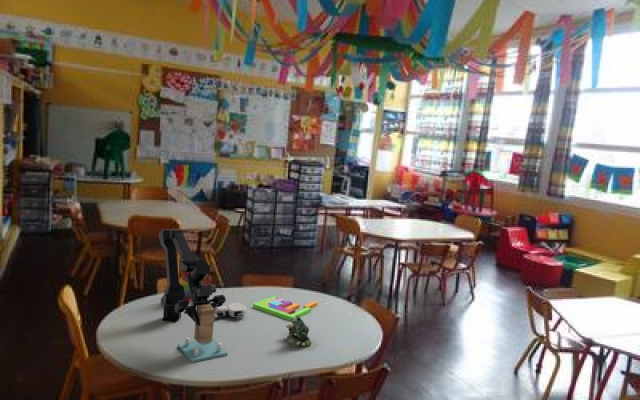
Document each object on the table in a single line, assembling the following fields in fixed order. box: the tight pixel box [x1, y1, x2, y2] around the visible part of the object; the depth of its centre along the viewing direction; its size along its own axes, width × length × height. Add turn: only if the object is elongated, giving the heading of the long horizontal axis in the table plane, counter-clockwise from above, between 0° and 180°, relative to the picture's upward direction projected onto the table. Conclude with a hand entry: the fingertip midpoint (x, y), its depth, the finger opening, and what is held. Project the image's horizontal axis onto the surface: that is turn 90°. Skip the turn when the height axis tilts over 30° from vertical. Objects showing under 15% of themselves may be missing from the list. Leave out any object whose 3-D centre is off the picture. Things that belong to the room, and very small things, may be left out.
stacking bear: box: [179, 272, 192, 302], centre depth 241 cm, size 11×10×18 cm
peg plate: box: [177, 336, 229, 364], centre depth 192 cm, size 14×14×4 cm
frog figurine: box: [285, 315, 317, 351], centre depth 208 cm, size 18×18×12 cm
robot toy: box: [214, 301, 247, 319], centre depth 228 cm, size 12×4×15 cm
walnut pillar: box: [193, 304, 215, 344], centre depth 190 cm, size 5×5×13 cm
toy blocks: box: [252, 295, 319, 321], centre depth 245 cm, size 23×2×25 cm
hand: (205, 324), depth 189 cm, fingers closed on walnut pillar, 5 cm apart
